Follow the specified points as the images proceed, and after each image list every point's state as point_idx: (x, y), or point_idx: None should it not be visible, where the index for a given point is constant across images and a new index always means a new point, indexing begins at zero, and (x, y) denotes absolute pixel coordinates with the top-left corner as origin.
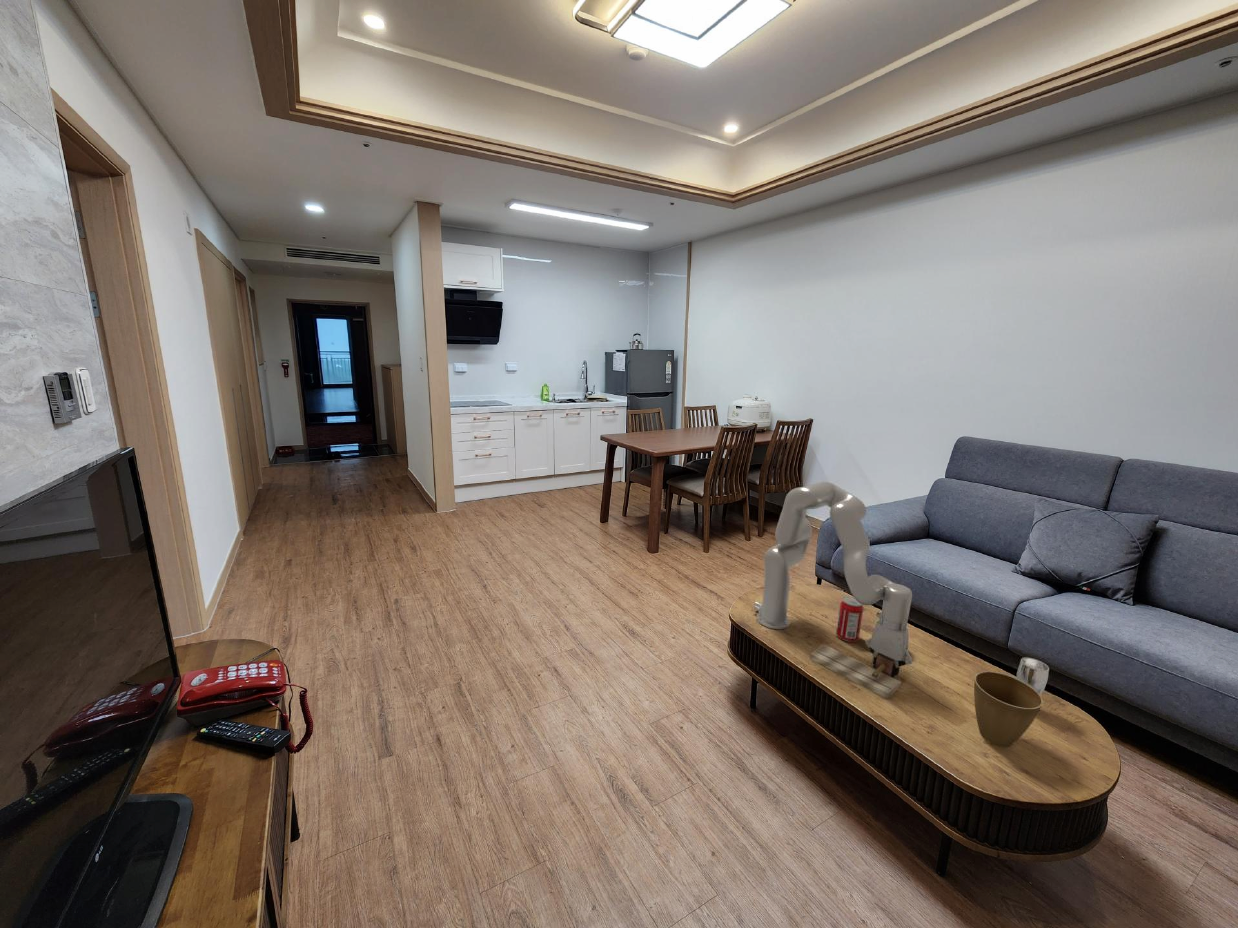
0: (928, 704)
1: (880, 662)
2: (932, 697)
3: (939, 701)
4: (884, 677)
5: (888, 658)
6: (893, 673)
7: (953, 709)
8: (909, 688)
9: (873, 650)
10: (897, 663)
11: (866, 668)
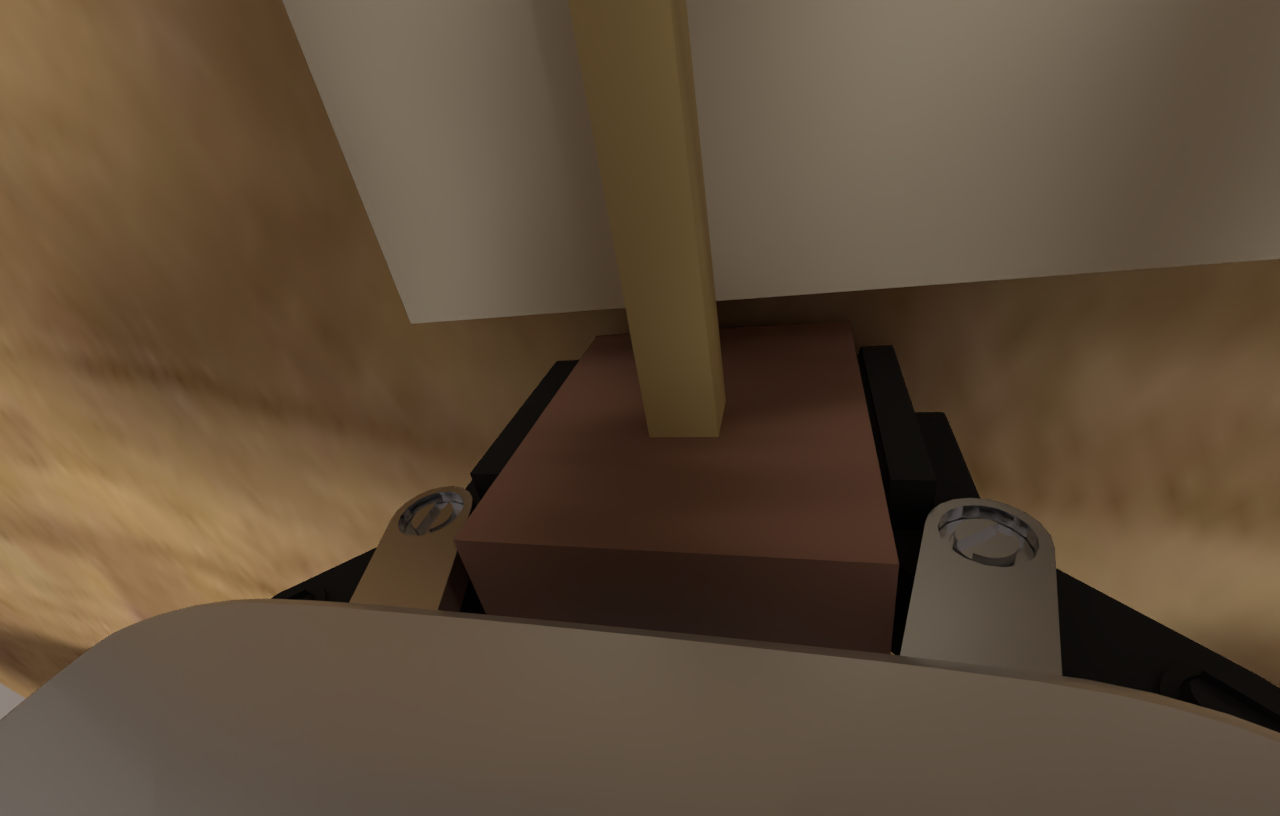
0: (144, 259)
1: (767, 438)
2: (245, 406)
3: (189, 399)
4: (586, 198)
5: (612, 602)
6: (535, 392)
7: (88, 386)
8: (407, 363)
9: (1099, 677)
10: (385, 558)
11: (990, 149)
